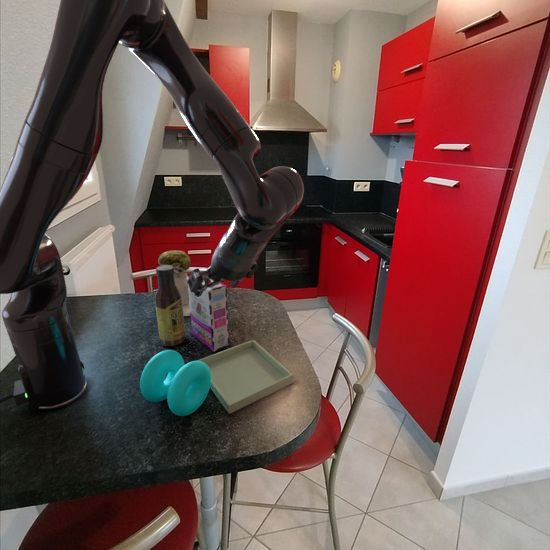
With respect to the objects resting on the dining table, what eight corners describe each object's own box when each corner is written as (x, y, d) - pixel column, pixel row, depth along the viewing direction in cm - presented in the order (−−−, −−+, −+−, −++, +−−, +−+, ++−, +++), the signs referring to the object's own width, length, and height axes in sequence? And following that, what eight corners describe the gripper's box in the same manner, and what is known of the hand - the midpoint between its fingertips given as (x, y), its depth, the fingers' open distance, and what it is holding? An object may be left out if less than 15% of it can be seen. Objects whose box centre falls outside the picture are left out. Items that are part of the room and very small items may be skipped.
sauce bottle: (178, 349, 79) (169, 274, 72) (155, 346, 80) (143, 271, 73) (190, 335, 85) (182, 264, 78) (168, 332, 86) (159, 262, 79)
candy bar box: (230, 345, 81) (227, 285, 75) (213, 353, 78) (208, 291, 71) (207, 327, 88) (203, 272, 82) (191, 334, 85) (185, 276, 79)
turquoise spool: (179, 430, 56) (173, 385, 53) (140, 409, 61) (132, 366, 57) (216, 395, 64) (212, 353, 61) (179, 378, 69) (174, 339, 65)
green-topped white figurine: (156, 303, 102) (148, 247, 95) (197, 297, 106) (192, 243, 99) (157, 320, 92) (147, 260, 85) (202, 313, 96) (196, 255, 89)
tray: (229, 414, 60) (228, 405, 59) (195, 368, 72) (195, 361, 71) (293, 382, 68) (293, 374, 67) (253, 346, 80) (253, 339, 79)
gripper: (261, 231, 65) (236, 268, 78) (194, 242, 57) (178, 280, 70) (276, 263, 63) (248, 295, 76) (208, 279, 55) (190, 311, 68)
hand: (214, 288), depth 73 cm, fingers open, 8 cm apart
